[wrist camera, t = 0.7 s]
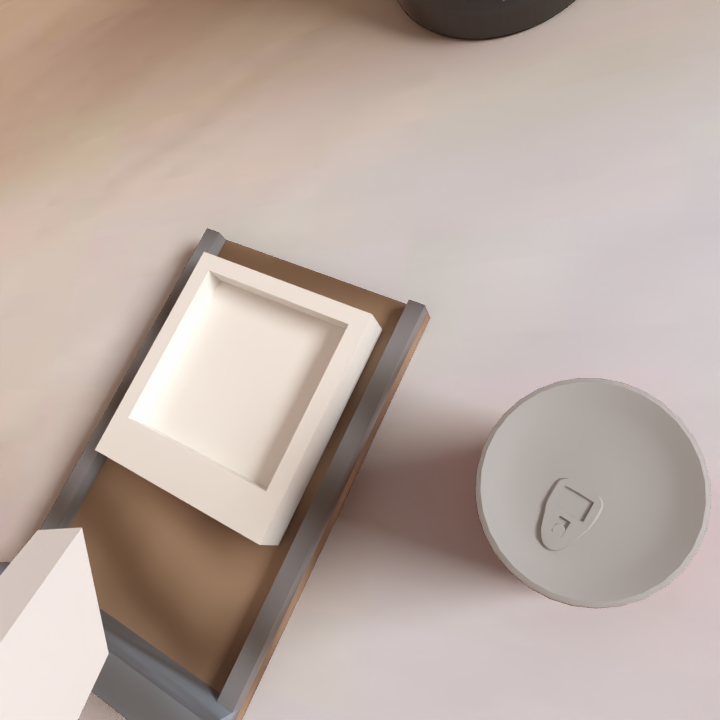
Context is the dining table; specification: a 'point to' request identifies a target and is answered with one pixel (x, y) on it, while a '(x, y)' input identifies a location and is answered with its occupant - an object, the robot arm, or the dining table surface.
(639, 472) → the canned food
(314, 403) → the carriage
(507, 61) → the dining table surface
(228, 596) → the slide board
